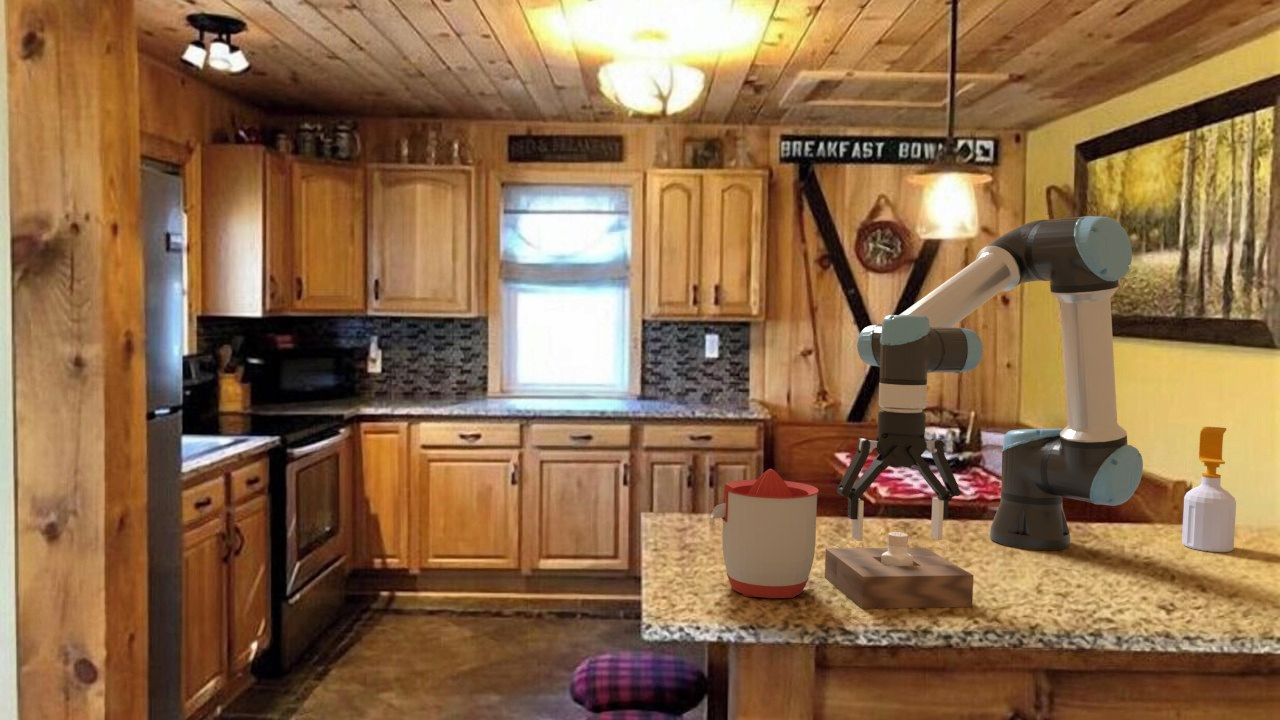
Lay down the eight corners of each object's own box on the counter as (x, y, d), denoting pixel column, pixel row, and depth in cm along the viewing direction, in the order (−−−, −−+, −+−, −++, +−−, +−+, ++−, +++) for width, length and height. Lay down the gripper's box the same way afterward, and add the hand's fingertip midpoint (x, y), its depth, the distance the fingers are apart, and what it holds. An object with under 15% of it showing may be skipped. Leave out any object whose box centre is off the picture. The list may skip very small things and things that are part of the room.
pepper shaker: (892, 586, 168) (894, 530, 167) (913, 592, 165) (915, 534, 164) (878, 590, 165) (880, 533, 165) (899, 596, 162) (901, 538, 162)
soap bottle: (1185, 549, 200) (1191, 427, 199) (1179, 540, 208) (1185, 422, 207) (1236, 555, 196) (1243, 430, 195) (1229, 545, 205) (1235, 425, 204)
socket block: (924, 575, 175) (925, 547, 175) (972, 606, 157) (973, 575, 157) (824, 577, 173) (825, 548, 172) (862, 608, 155) (863, 576, 155)
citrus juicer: (706, 575, 172) (709, 459, 171) (808, 578, 171) (812, 462, 170) (710, 602, 156) (713, 475, 155) (822, 606, 156) (826, 478, 155)
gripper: (963, 408, 169) (958, 532, 170) (820, 406, 165) (816, 534, 166) (985, 412, 161) (979, 543, 162) (835, 411, 158) (831, 544, 159)
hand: (897, 538), depth 164 cm, fingers open, 13 cm apart
